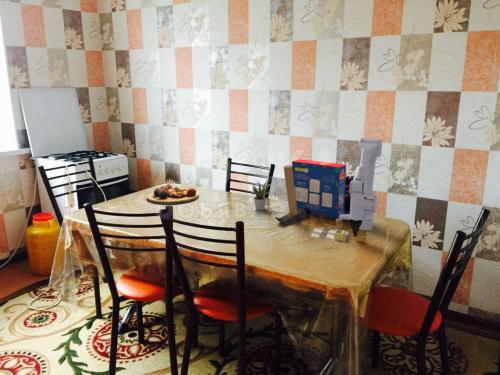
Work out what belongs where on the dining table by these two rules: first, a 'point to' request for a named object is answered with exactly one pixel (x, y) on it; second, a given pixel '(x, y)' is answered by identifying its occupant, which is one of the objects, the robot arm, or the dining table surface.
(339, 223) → the grey-capped tan cylinder
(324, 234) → the striped beige square plate
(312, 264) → the dining table surface
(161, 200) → the wooden plate with food
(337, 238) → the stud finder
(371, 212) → the robot arm
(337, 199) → the blue product box
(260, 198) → the house plant
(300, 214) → the hammer
